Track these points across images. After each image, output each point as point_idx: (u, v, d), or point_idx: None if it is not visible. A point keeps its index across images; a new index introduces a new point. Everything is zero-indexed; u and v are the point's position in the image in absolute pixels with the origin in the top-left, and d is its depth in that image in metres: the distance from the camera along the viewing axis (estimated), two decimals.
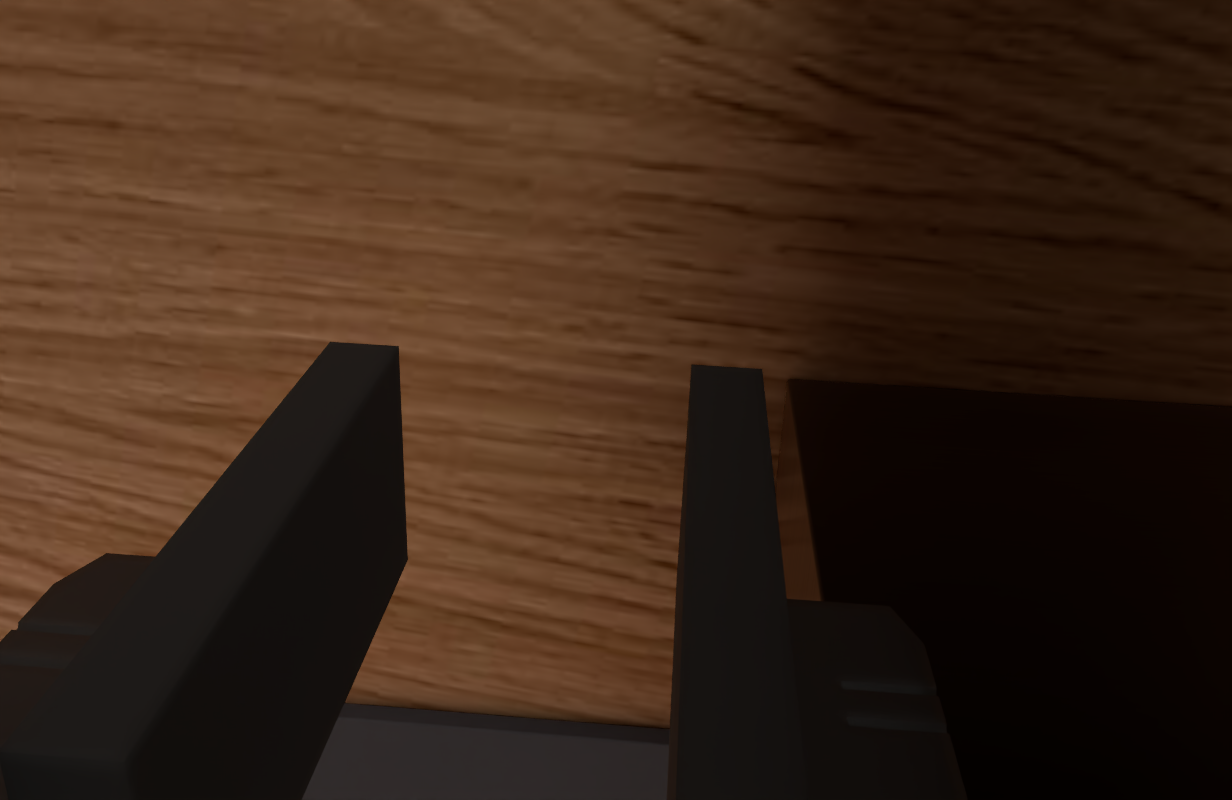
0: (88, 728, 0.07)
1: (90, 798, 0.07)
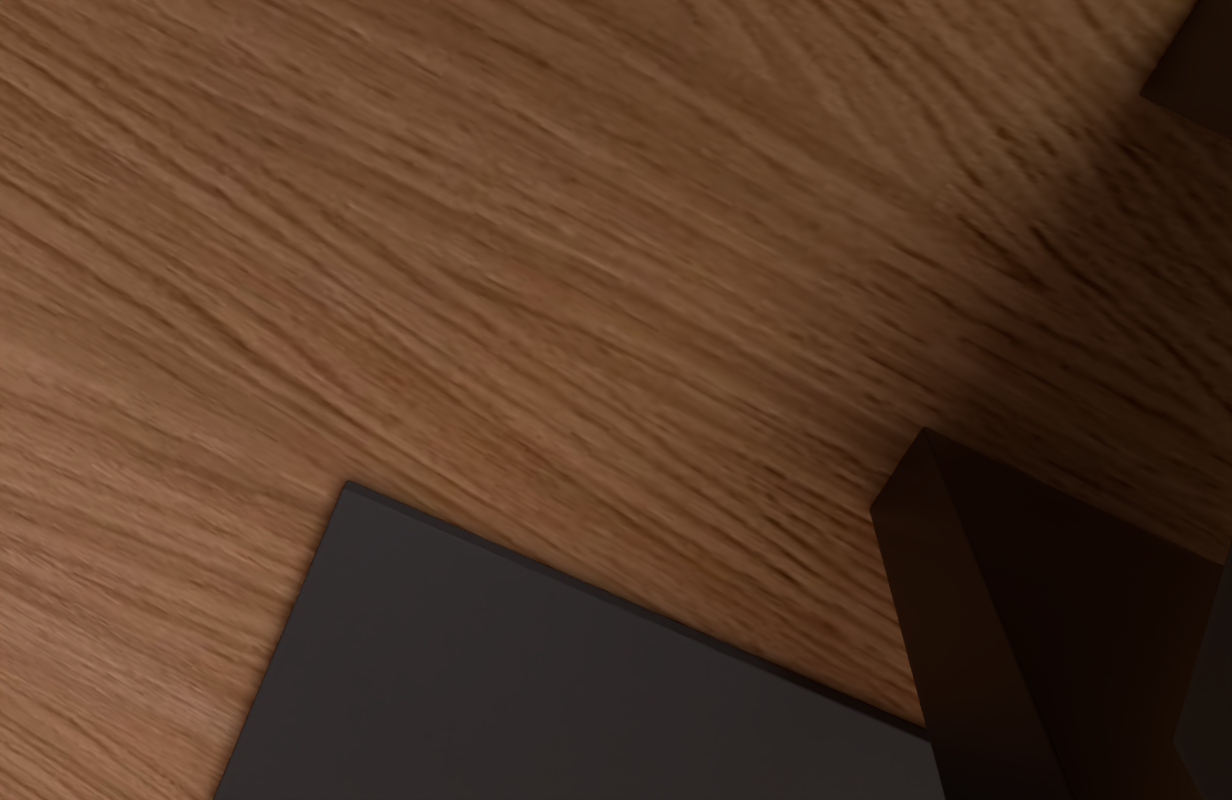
0: None
1: None
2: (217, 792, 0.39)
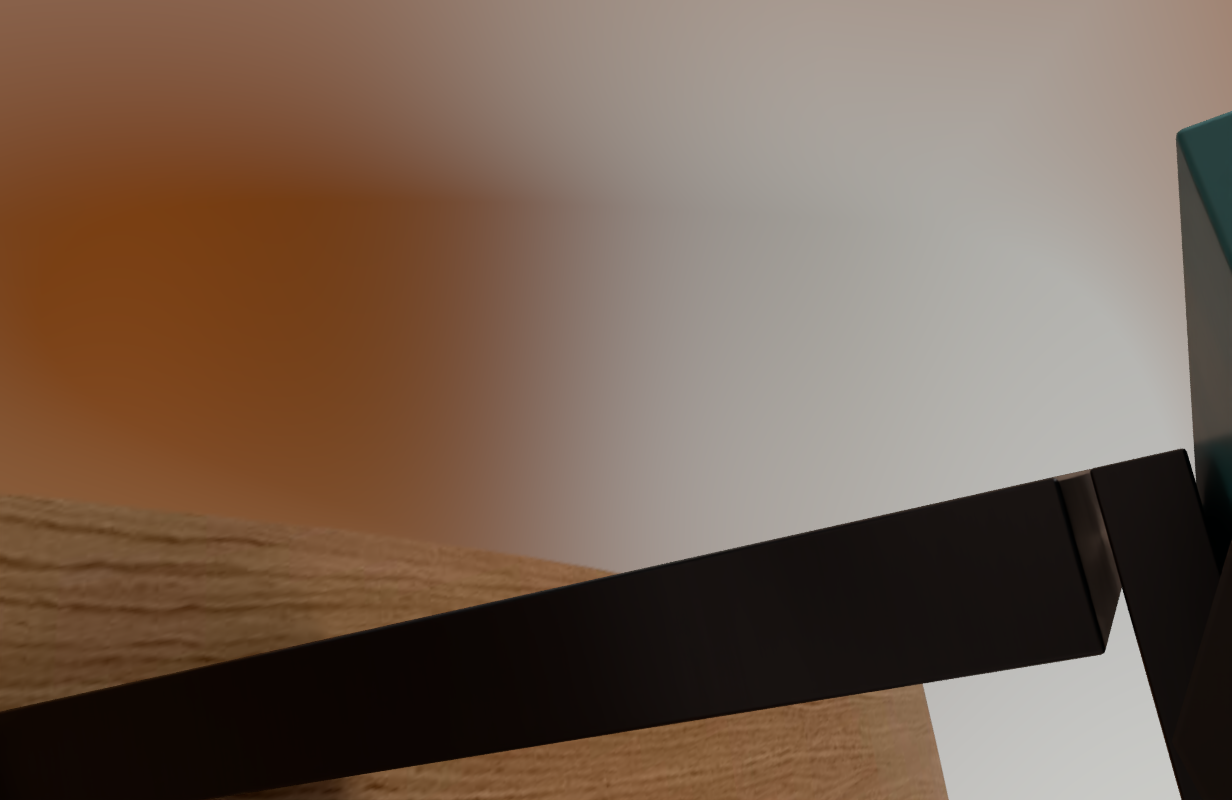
0: None
1: None
2: None
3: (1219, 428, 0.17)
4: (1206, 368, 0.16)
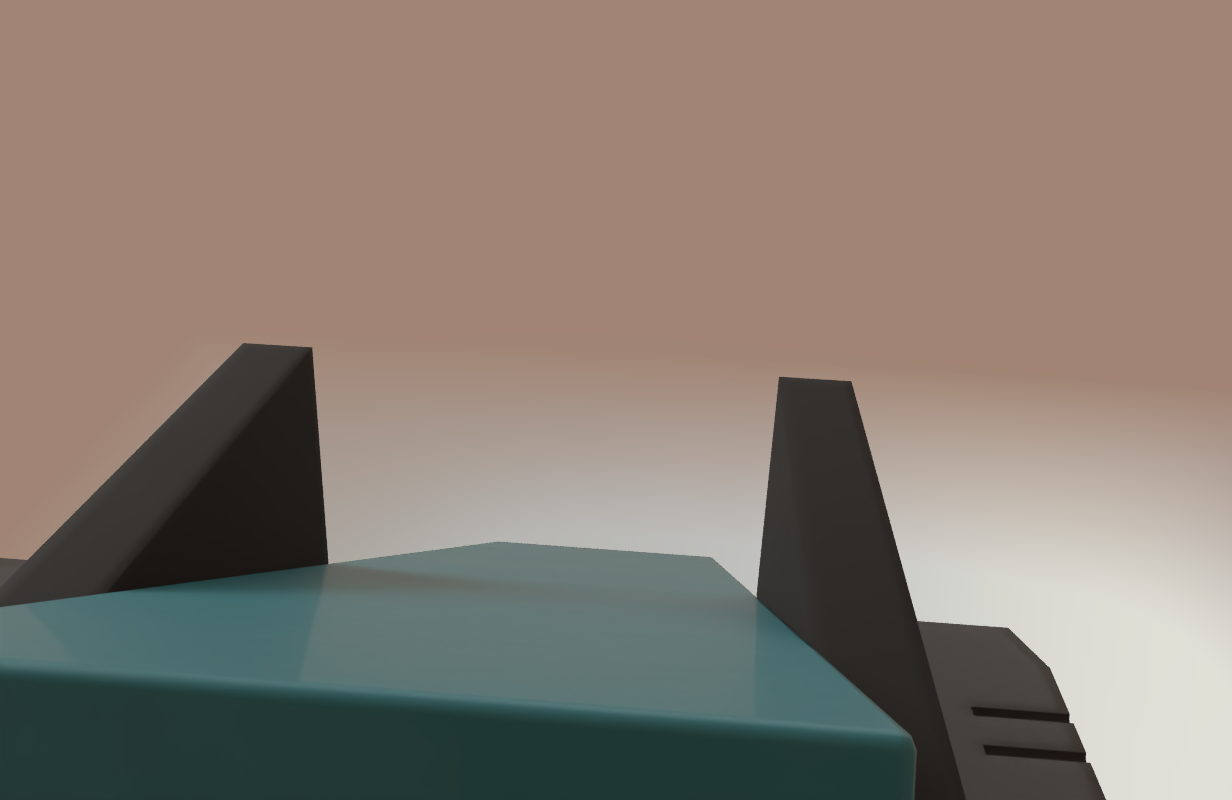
0: None
1: None
2: None
3: None
4: None
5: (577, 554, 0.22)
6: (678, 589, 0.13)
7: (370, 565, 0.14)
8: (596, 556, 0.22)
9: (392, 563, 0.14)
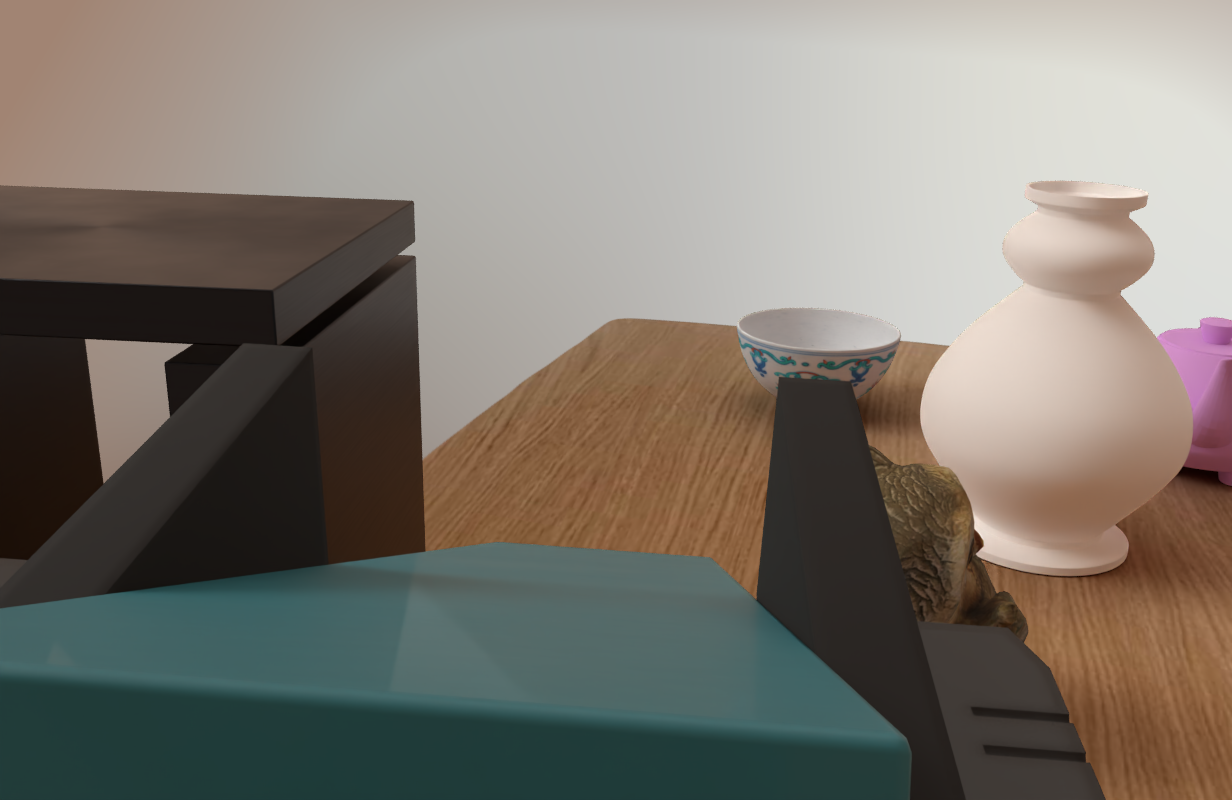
0: None
1: None
2: None
3: None
4: None
5: (576, 554, 0.22)
6: (676, 590, 0.13)
7: (368, 566, 0.14)
8: (595, 556, 0.22)
9: (390, 564, 0.14)
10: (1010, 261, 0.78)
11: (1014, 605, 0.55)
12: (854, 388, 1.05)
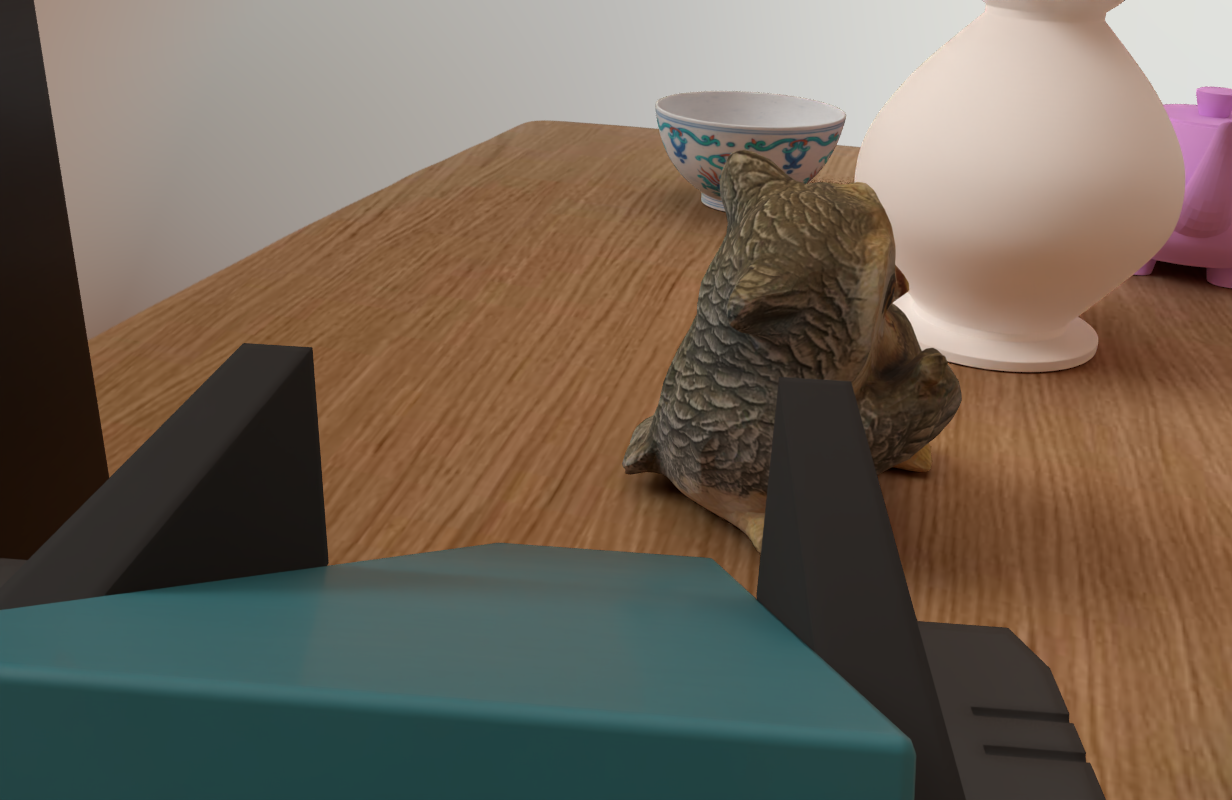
0: None
1: None
2: None
3: None
4: None
5: (577, 555, 0.22)
6: (678, 590, 0.13)
7: (370, 567, 0.14)
8: (596, 557, 0.22)
9: (392, 565, 0.14)
10: None
11: (942, 356, 0.40)
12: None
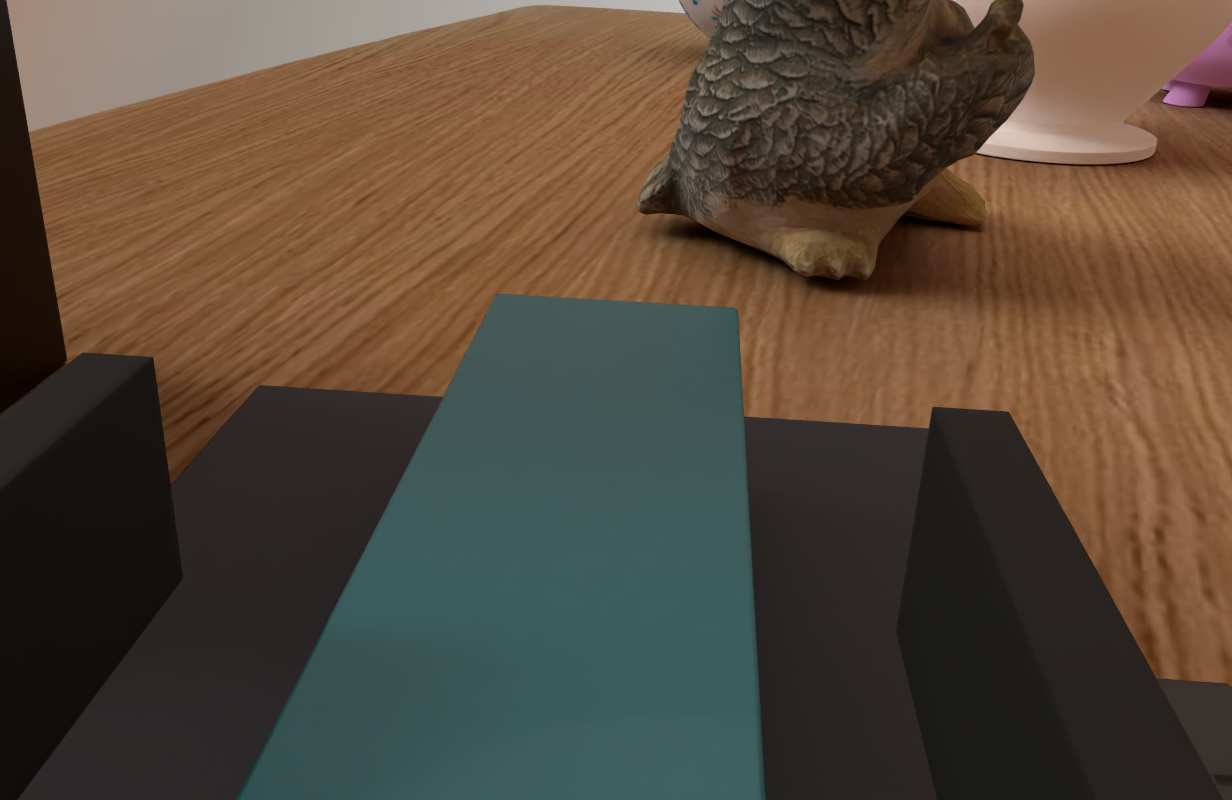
0: None
1: None
2: None
3: None
4: None
5: (581, 386, 0.20)
6: (674, 750, 0.12)
7: (327, 708, 0.12)
8: (602, 395, 0.20)
9: (355, 661, 0.13)
10: None
11: None
12: None
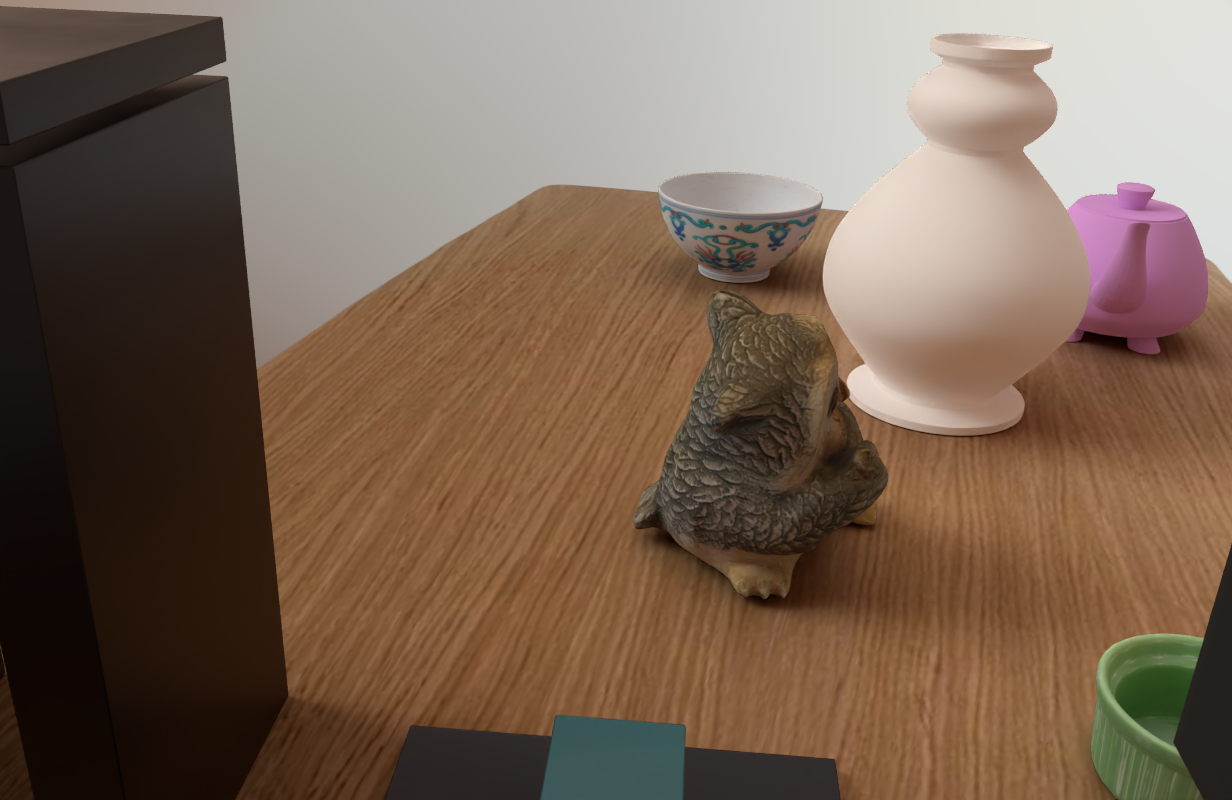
0: None
1: None
2: None
3: None
4: None
5: None
6: None
7: None
8: None
9: None
10: (912, 116, 0.76)
11: (870, 452, 0.55)
12: (773, 253, 1.04)
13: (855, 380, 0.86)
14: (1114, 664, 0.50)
